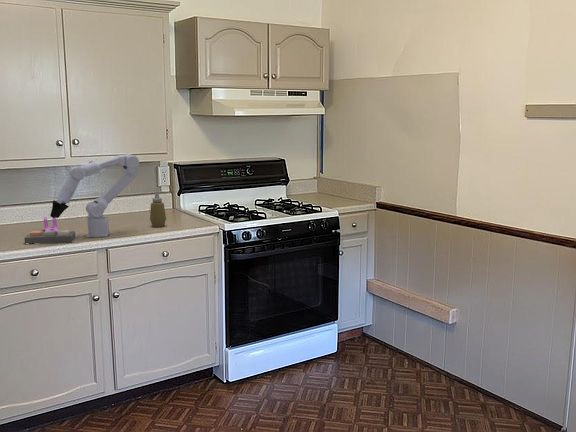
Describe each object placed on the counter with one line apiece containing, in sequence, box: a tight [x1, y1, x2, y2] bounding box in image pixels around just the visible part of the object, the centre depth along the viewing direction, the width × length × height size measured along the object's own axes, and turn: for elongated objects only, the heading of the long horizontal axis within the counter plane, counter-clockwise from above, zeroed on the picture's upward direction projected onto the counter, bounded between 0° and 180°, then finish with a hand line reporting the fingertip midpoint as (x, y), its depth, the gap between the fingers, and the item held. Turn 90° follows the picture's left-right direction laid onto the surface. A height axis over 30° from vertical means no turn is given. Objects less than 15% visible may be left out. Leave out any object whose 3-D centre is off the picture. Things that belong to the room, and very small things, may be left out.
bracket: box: [43, 216, 60, 232], centre depth 290 cm, size 13×6×7 cm, turn 28°
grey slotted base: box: [23, 230, 77, 244], centre depth 272 cm, size 20×10×3 cm, turn 99°
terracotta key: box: [29, 230, 43, 236], centre depth 270 cm, size 4×4×3 cm
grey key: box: [44, 230, 56, 236], centre depth 271 cm, size 4×4×3 cm
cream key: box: [58, 229, 71, 235], centre depth 272 cm, size 4×4×3 cm
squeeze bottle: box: [149, 190, 167, 228], centre depth 302 cm, size 8×8×18 cm
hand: (53, 217), depth 271 cm, fingers open, 7 cm apart
